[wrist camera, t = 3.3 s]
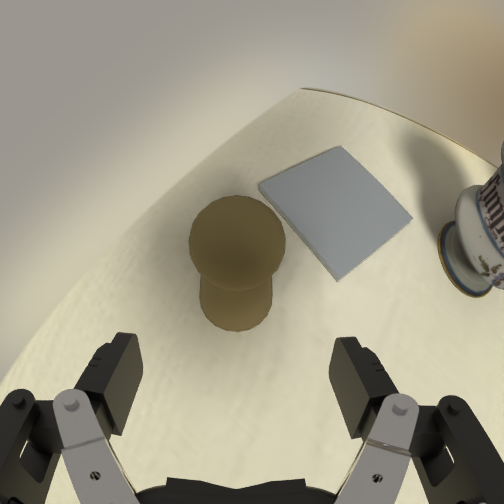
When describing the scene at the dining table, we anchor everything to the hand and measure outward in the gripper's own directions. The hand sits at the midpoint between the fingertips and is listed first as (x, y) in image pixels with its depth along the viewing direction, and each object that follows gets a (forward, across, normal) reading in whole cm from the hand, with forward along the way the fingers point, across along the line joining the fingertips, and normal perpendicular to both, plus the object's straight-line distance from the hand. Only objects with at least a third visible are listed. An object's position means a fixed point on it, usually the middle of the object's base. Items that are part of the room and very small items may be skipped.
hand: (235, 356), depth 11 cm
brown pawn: (+13, 0, +4) cm, 13 cm away
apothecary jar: (+15, -27, +1) cm, 31 cm away
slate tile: (+19, -10, -3) cm, 22 cm away
